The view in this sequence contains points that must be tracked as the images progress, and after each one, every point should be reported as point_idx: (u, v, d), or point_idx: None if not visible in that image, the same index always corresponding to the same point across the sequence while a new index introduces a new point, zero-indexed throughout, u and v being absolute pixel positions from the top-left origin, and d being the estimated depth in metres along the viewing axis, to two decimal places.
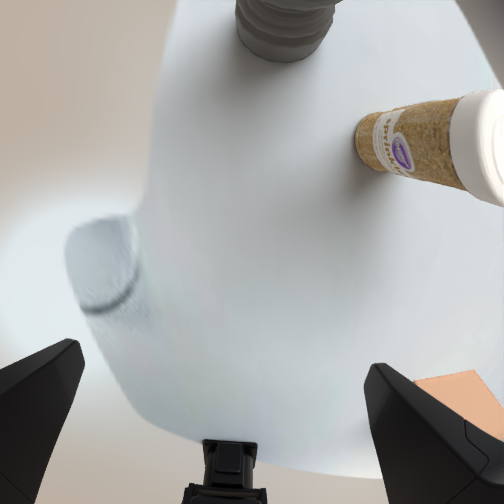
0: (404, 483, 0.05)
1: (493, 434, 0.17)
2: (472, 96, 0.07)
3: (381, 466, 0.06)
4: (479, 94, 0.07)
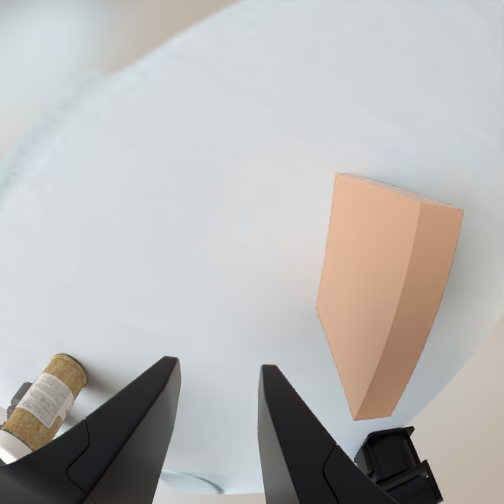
0: (272, 501, 0.05)
1: (392, 309, 0.10)
2: None
3: (263, 477, 0.06)
4: None
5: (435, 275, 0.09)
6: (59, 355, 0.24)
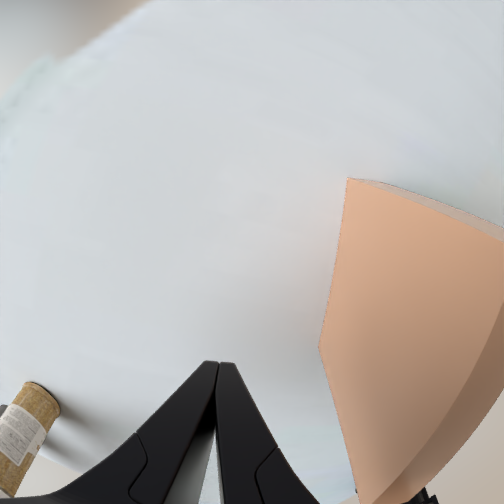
0: None
1: (439, 409, 0.05)
2: None
3: (218, 475, 0.06)
4: None
5: None
6: (29, 383, 0.19)
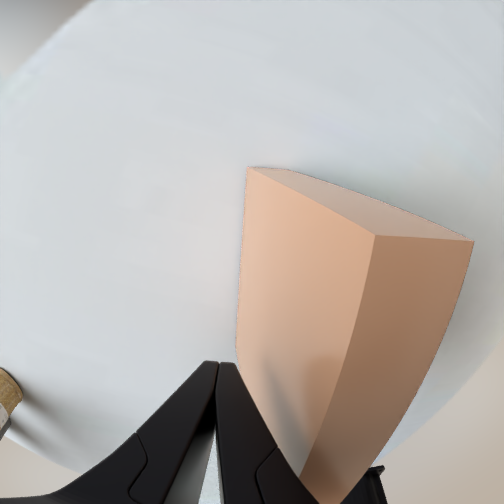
0: None
1: (309, 433, 0.05)
2: None
3: (218, 475, 0.06)
4: None
5: (401, 377, 0.04)
6: None
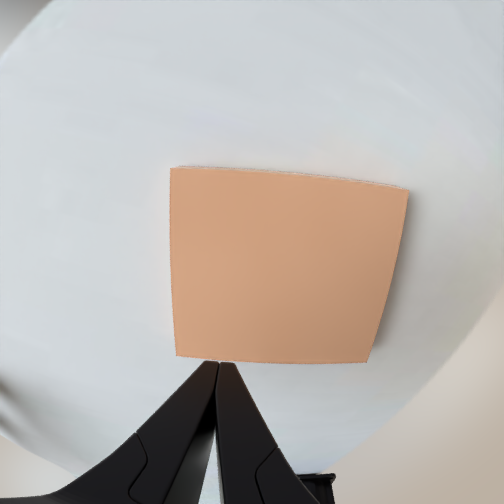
0: None
1: (389, 268, 0.14)
2: None
3: (218, 475, 0.06)
4: None
5: None
6: None
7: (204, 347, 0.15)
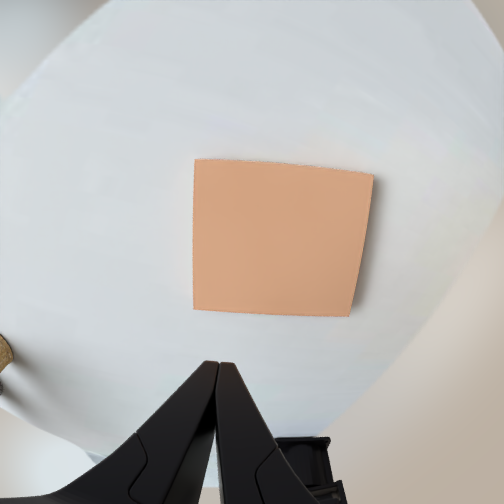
0: None
1: (361, 235, 0.18)
2: None
3: (218, 475, 0.06)
4: None
5: None
6: None
7: (216, 300, 0.20)
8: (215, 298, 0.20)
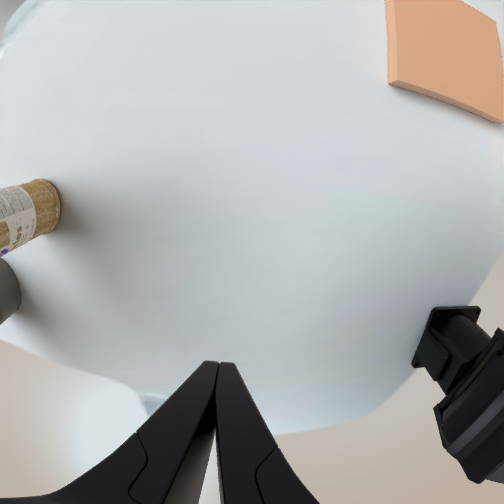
0: None
1: (499, 57, 0.13)
2: None
3: (218, 475, 0.06)
4: None
5: None
6: (34, 180, 0.18)
7: (417, 75, 0.15)
8: (416, 72, 0.15)
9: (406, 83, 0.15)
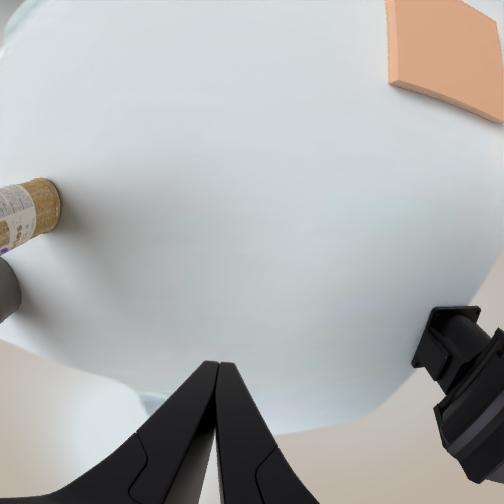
0: None
1: (500, 57, 0.13)
2: None
3: (218, 475, 0.06)
4: None
5: None
6: (34, 179, 0.18)
7: (418, 75, 0.15)
8: (417, 72, 0.15)
9: (407, 83, 0.15)
